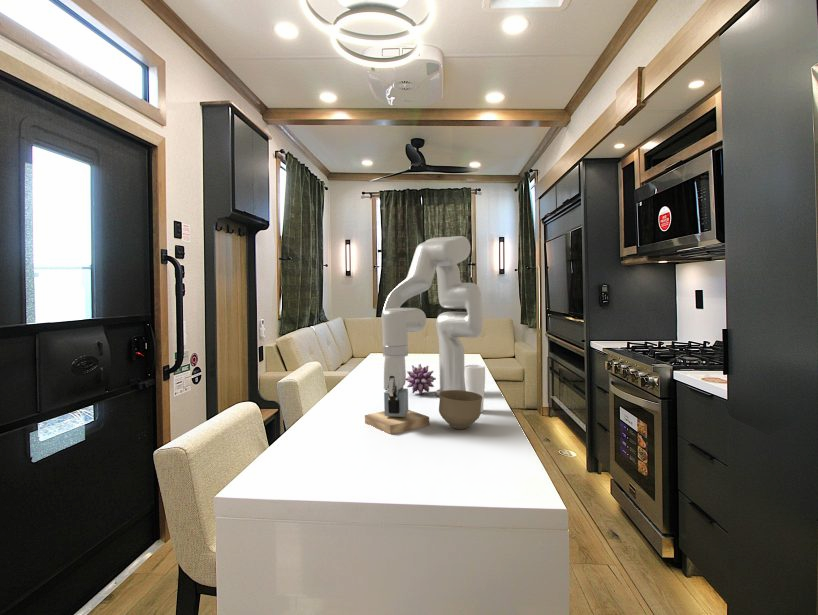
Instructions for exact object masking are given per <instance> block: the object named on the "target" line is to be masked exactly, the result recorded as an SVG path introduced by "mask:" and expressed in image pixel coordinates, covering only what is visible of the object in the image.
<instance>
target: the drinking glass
mask: <svg viewBox="0 0 818 615" xmlns="http://www.w3.org/2000/svg"><path fill="white" fill-rule="evenodd" d="M464 378H465V389H466V391H469V392H474V393H477V394H479V395H481V396H482V401H481V413H483V411H484V401H485V387H486V366H485V365H482V364H467V365H464Z"/></svg>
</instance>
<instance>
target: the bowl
mask: <svg viewBox="0 0 818 615" xmlns="http://www.w3.org/2000/svg"><path fill="white" fill-rule="evenodd" d="M438 397H439V404H438V412H439V414H440V416H441V418H442V419H443V420H444V421H445V422H446V423H447V424H448V426H450V427H451V428H453V429H457V430H465V429H467V428H469V426H471V425H473V423H474V424H475V423H476V421H477V420H478V419H479V418H480V417H481V414H482V412H481V401H482V396H481V395H479V394H477V393H474V392H469V391H462V390H446V391H442V392H440V393H439V396H438Z"/></svg>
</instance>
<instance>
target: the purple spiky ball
mask: <svg viewBox="0 0 818 615" xmlns="http://www.w3.org/2000/svg"><path fill="white" fill-rule="evenodd" d="M429 367H430V366H429V365H426V366H423V367H422V364H421V363H419V364H418V365H417V366H414V364H413V365H411V368H412V370H411V371H410V370H407V371H406V373H407V374H408V376H407V377H406V381H407V383H408V384H407V386H406V387H407V388H411V389H412V391H411V393H412V394H414V393H415V392H418V393H419V395H423V392H424V391H425V392H426V393H430V387H431V388H434V387H435V385H434V384H433V383H434V381H435V380H437V378H436V377H434V376H432V374H433V373H434V370H431V371H429Z"/></svg>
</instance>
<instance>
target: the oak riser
mask: <svg viewBox="0 0 818 615" xmlns="http://www.w3.org/2000/svg"><path fill="white" fill-rule="evenodd" d="M364 424H366V425H368V426H370V425H371V427H372V426H373V428H374V427H375V429H377V430H379V431H381V432H383V431H384V433H386V434H388V435H390V434H391V435H395V434H398V433H402V432H406V431H411V430H414V429H418V428H424V427H426V426H427V427H428V426H430V416H428V415H426V414H423V413H422V414H421V413H420V412H416V411H413V410H411V409H408V412H407V414H406V415H405V417H399V416H385V410H383V411H378V412H374V413H368V414H365V415H364Z"/></svg>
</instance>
